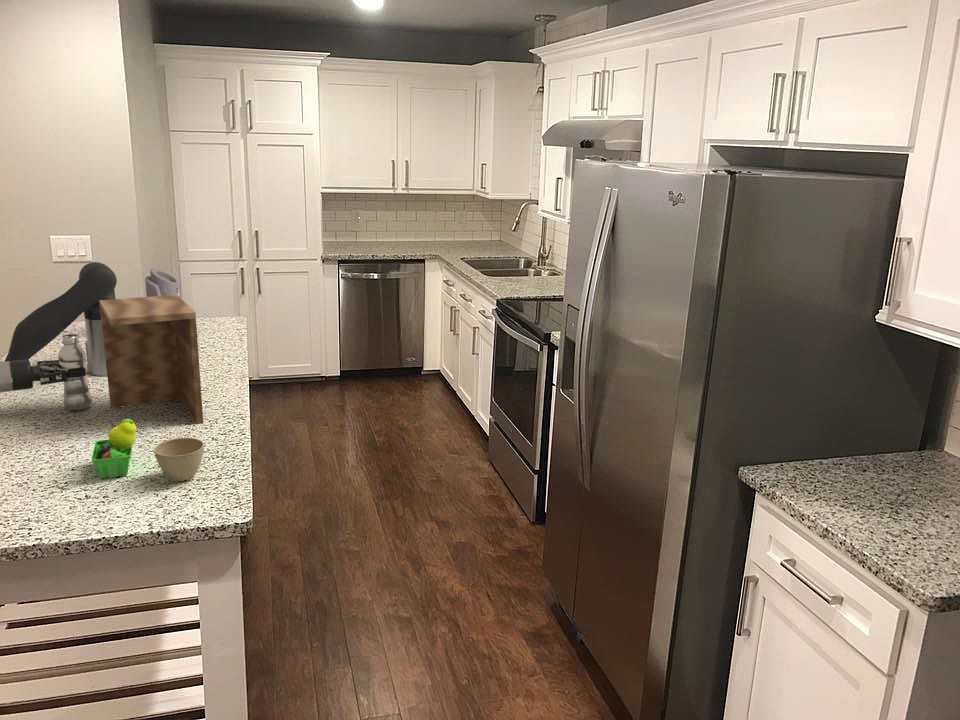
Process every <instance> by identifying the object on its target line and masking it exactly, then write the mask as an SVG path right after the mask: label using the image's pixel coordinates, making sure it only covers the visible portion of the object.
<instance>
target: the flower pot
mask: <svg viewBox="0 0 960 720" xmlns="http://www.w3.org/2000/svg"><path fill="white" fill-rule="evenodd" d="M204 449H205V443H204V442H203V440H201V439H198V438H195V437H177V438H170V439H167V440H165V441H162V442H160V443H158V444H157V445H155V446H154V448H153V454H154V456H155V459H156V461H157V464H158V466H159V469H161V471H162V473H164V475H165V476H166V477H167V478H168V479H169V481H171V480H173V481H172V482H175V481H182V482H185V481H184V480H187V481H189V480H188V479H190V478H192V477H193V478H194V477H195V476H196V474H197V472H198V470H199V468H200V465H201V463H202V460H203V456H204ZM194 475H195V476H194ZM193 478H192V479H193ZM190 480H191V479H190Z"/></svg>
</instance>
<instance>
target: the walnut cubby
mask: <svg viewBox="0 0 960 720" xmlns="http://www.w3.org/2000/svg"><path fill="white" fill-rule="evenodd" d="M99 304H100V313H101V322H102V332H103V341H104V350H105V360H106V369H107V376H106V378H107V387H108V388H107V389H108V396H109V404H110V405H109V406H110V409H115V408H114V407H117V408H122V407H121V406H124V407H130V406H129V405H132V406H137V404H139V405H146V404H152V403H153V404H154V403H161V402H167V401H168V402H169V401H175V400H181V402H182V404H183V405H184V406H185V408H186V409H187V411H188V412H189V414H190V415H191V417H192V418H193V420H194V421H195V422H196V424H197V425H199V424H204V414H203V399H202V398H203V396H202V385H201V372H200V371H201V370H200V357H199V343H198V342H199V341H198V329H197V328H198V326H197V316H196V311H195V310H193V308H191V306H190V305H188V304H187V303H186V302H185V301H184V300H183V299H182V298H180V297H179V296H178V295H169V296H155V297H147V296H142V297H130V298H127V297H126V298H116V299H112V300H99ZM145 403H146V404H145Z"/></svg>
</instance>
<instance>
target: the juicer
mask: <svg viewBox="0 0 960 720" xmlns="http://www.w3.org/2000/svg"><path fill="white" fill-rule="evenodd" d="M149 272H150V275H149V276H146V277H145V279H144V280H145V292H146V297H155V296H169V295H178V296H179V297H180V298H181V283H180V281H179V280H178V279H177V278H176V277H174V276H173V275H171V274H170V273H167V272H165V271H163V270H160V269H157V268H150V270H149ZM181 299H182V298H181Z"/></svg>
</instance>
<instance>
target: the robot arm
mask: <svg viewBox="0 0 960 720" xmlns="http://www.w3.org/2000/svg"><path fill="white" fill-rule="evenodd" d="M116 286H117V276H116V274H115V272H114V271H113V270H112V269H111V268H110V267H109V266H108V265H107V264H105V263H102V262H99V261H92V262H88V263H87V264H85V265H84V266H82V268H81V269H80V271H79V273H78V280H77V281H76V282H75V283H74V284H73V285H72V286H71V287H70V288H68V289H67V290H66V291H65V292H64V293H63V294H61V295H59V296H58V297H56V298H54V299H52V300H50V301H47V303H44V304H43V305H41V306H39V307H37V308H36V309H35V310H33V311H32V312H31V313H30V314H28V315H27V316H26V317H24V319H22V320H21V321H20V322H18V324H17V325H16V326H15V328H14V331H13V334H12V337H11V341H10V346H9V349H8V352H7V354H6V357H5V359H4V361H0V393H6V392H14V391H22V390H23V391H24V390H30V389H31V390H32V389H34V382H40V385H42V386H44V385H49V384H57V383H64V382H66V381H67V379H70V378H71V377H80V376H85V375H86V376H87V371H88V373H90V374H91V375H93V376H99V377H100V376H101V377H102V376H103V377H105V376H106V377H107V369H106V360H105V350H104V341H103V332H102V322H101V313H100V304H99V300H112V299H117V298H116V292H115V288H116ZM82 314H83V316H84V323H85V324H84V325H85V331H86V333H85V334H86V341H85V342H84V343H85V344H84V345H85V353H86V365H87V368H86V369H85V368H84V367H80V368H71V369H61V366H60V363H59V359H54V360H39V361H36V363H37V364H36V365H32V366H31V361H30V359H31V358H32V357H33V356H35V355H36V354H37V353H39V352H40V351H41V350H43V349H44V348H45V347H46V346H47V345H49V344H50V343H51V342H52V341H53V340H55V339H56V338H57V337H58V336H59V335H60V334H61V333H62V332H64V331H65V330H66V329H67V328H68V327H69V326H70V325H71V324H72V323H73V322H75V321H76V319H78V317H80V316H81V315H82Z"/></svg>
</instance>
